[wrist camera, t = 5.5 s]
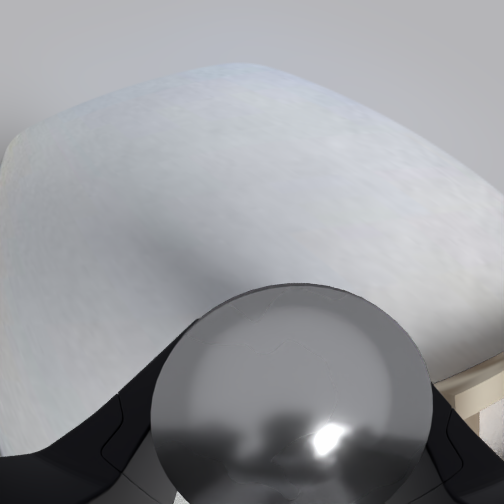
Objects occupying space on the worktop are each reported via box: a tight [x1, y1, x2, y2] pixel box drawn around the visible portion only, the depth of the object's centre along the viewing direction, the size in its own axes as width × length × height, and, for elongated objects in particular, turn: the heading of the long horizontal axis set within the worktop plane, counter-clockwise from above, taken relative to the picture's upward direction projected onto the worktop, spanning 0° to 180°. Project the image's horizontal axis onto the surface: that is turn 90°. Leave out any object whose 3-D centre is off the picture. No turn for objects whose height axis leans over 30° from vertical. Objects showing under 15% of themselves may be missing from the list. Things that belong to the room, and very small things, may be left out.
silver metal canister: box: [151, 283, 433, 504], centre depth 9 cm, size 5×5×11 cm
